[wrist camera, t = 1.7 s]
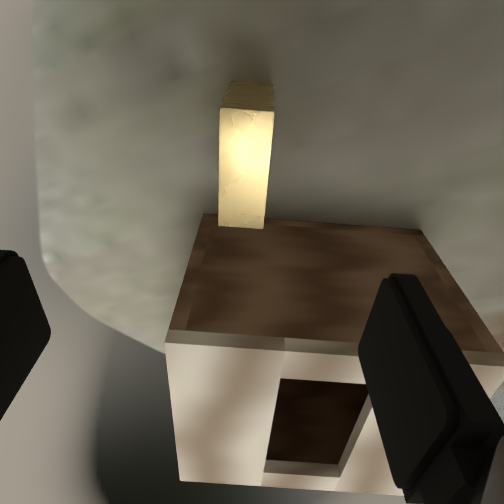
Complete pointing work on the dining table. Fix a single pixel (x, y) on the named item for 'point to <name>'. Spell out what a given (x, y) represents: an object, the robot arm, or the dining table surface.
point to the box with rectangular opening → (296, 351)
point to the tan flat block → (245, 153)
